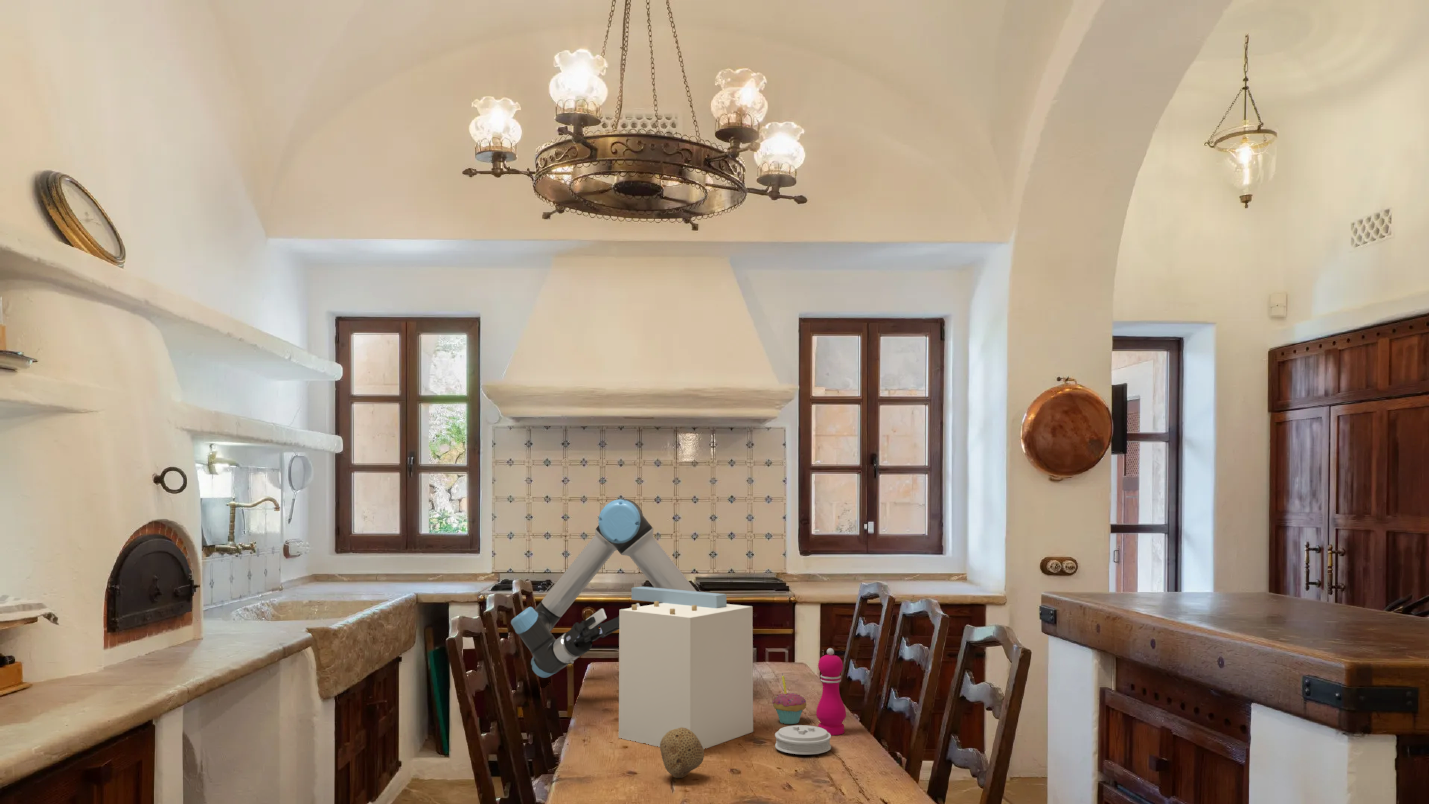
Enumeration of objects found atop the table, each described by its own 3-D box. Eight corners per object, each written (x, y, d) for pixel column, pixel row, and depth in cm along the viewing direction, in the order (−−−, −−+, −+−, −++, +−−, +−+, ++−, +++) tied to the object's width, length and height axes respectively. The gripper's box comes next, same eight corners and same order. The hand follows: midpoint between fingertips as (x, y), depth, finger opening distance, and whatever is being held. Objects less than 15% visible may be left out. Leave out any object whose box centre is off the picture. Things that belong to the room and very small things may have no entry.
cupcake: (767, 723, 242) (767, 675, 243) (781, 716, 250) (780, 669, 250) (799, 727, 238) (798, 678, 239) (812, 720, 246) (811, 672, 246)
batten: (631, 599, 251) (631, 587, 251) (641, 598, 254) (641, 586, 254) (716, 608, 233) (716, 595, 234) (726, 606, 237) (726, 594, 237)
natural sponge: (703, 771, 203) (703, 722, 204) (704, 784, 194) (704, 733, 195) (660, 771, 203) (660, 722, 204) (659, 784, 194) (659, 734, 195)
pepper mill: (845, 736, 230) (844, 651, 231) (814, 735, 231) (814, 650, 233) (847, 729, 237) (846, 646, 238) (817, 727, 238) (817, 645, 240)
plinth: (618, 737, 229) (619, 604, 231) (683, 718, 248) (683, 595, 250) (690, 754, 215) (690, 612, 218) (753, 731, 234) (752, 601, 237)
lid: (786, 760, 211) (785, 737, 211) (767, 745, 223) (767, 723, 224) (839, 756, 214) (839, 733, 215) (818, 741, 227) (818, 719, 227)
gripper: (610, 650, 274) (658, 618, 263) (543, 664, 254) (593, 629, 244) (601, 626, 277) (648, 593, 266) (534, 637, 257) (583, 602, 247)
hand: (622, 610), depth 255 cm, fingers open, 13 cm apart
